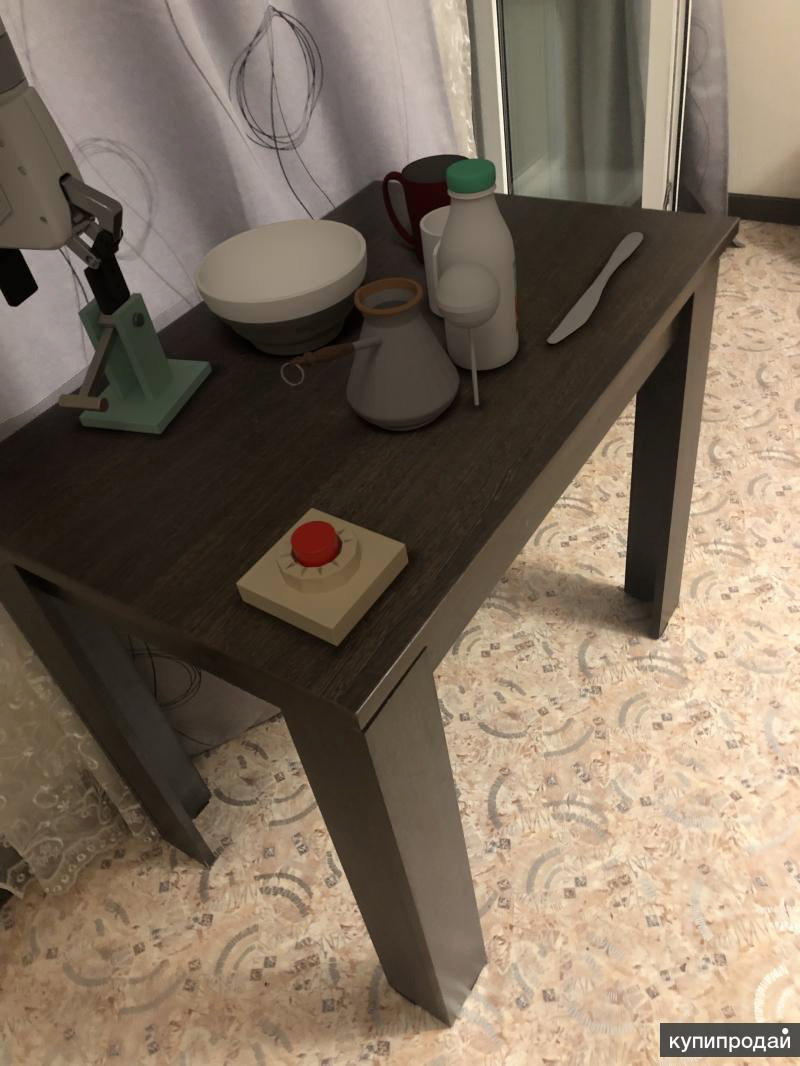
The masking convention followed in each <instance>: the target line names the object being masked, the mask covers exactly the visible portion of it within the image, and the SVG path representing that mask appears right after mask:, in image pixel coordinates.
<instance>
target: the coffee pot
mask: <svg viewBox="0 0 800 1066" xmlns="http://www.w3.org/2000/svg"><path fill="white" fill-rule="evenodd" d="M423 289H424V288H423V287H422V285H421V284H420V283H419V282H418V281H415V280H414V279H411V278H407V277H388V278H381V279H378V280H374V281H371V282H369V283H367V284H365V285H361V287H360V288H358V289H357V290H356V292H355V297H354V306H355V307H356V309H357V310H358V311H359V312H361V314H362V316H363V318H364V320H363V323H362V327H361V329H360V335H359V339H358V340H355V341H353V342H346V343H341V344H340V343H339V344H335V345H328V346H322V347H320V348H319V349H317V350H316V351H313V352H312V351H310V352H306V353H303V354H302V356H296V357H294V358H293V359H292V360H290V361H289V362H287V363H284V364H282V366H281V368H280V376H281V378H282V380H283V381H284V382H285V383H286V384H288V385H290V386H299V385H301V384H302V383H303V382H304V380H305V371H304V369H303V367H304V366H305V367H307V368H312V367H314V366H315V364H318V363H329V362H332V361H335V360H337V359H340V358H342V357H345V356H347V355H350V354H352V353H355V354H354V357H353V362H352V365H351V368H350V373H349V376H348V381H347V383H346V388H345V394H346V400H347V402H348V404H349V405H350V406H351V409H353V411H354V412H355V413H356V414H357V415H358V416H359V417H360V418H362V419H363V420H364V421H365V422H368V423H370V424H372V425H375V426H377V427H378V428H381V429H384V430H387V431H396V432H401V431H405V432H406V431H411V430H416V429H419V428H422V427H424V426H427V425H429V424H430V423H433V422H434V421H435V420H436V419H437V418H438V417H439V416H440V415H441V414H442V413H444V412H445V411H446V410H447V409H448V408H449V407H450V406H451V405H452V403H453V401H454V399H455V398H456V395H457V393H458V391H459V386H460V375H459V373H458V370H457V367H456V365H455V363H454V362H453V361H452V360H451V358H450V357H449V354H448V352H446V350H445V349H444V346H443V345H442V344H441V342H440V341H439V339H438V338H437V336H436V334H435V332H434V331H433V330H432V328H431V327H430V325H429V323H428V322H427V320H426V319H425V318H424V316H423V314H422V313H421V311H420V310H419V305H420V302H421V300H422V299H423V296H424V290H423ZM287 365H289V367H290V368H292V369H293V368H295V369H299V370H300V372H301V376H302V377H301V380H300V381H299V382H298V383H292V382H290V381H288V379H286V377H285V375H284V368H285V367H286V366H287Z"/></svg>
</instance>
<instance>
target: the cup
mask: <svg viewBox="0 0 800 1066" xmlns="http://www.w3.org/2000/svg"><path fill="white" fill-rule="evenodd" d="M449 211H450V206H445V207H442V208H439V209H436V210H434V211H432V212H430V213H428V214H427V215H425V216H424V217H423V218H422V220H421V222H420V229H421V238H422V246H423V255H424V263H425V264H424V270H425V280H426V287H427V296H428V297H427V298H428V305H429V309H430V311H431V312H432V313H433V314H435V315H437V316H438V317H439V318H440V317H441V318H443V316H442V315H441V314H440V312H439V310H438V307H437V304H436V301H435V293H436V288H437V285H438V283H439V280H440V267H439V248H440V242H441V237H442V234H443V231H444V228H445V225H446V222H447V219H448V215H449Z"/></svg>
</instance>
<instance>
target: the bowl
mask: <svg viewBox="0 0 800 1066" xmlns="http://www.w3.org/2000/svg"><path fill="white" fill-rule="evenodd" d="M367 265H368V253H367V243H366V239H365V238H364V236H363V235H362V233H361V232H360V231H358V230H357V229H356V228H355V227H352V226H350V225H348V224H346V223H343V222H338V221H335V220H330V219H329V220H328V219H319V218H318V219H317V218H315V219H314V218H313V219H311V218H310V219H309V218H307V219H306V218H305V219H304V218H303V219H291V220H285V221H284V220H283V221H278V222H273V223H269V224H266V225H265V224H264V225H261V226H257V227H254V228H251V229H248V230H245V231H243V232H241V233H238V234H235V235H233V236H231V237H229V238H227V239H226V240H223V241H222V242H220V243H219V244H217V245H216V246H214V247H213V248H212V249H210V250H209V251H208V252H206V254H205V255H204V256H203V257H202V258H201V259H200V260H199V262H198V264H197V266H196V267H195V270H194V274H193V278H194V279H193V280H194V283H195V285H196V288H197V291H198V293H199V295H200V296H201V298H202V299H203V301H204V304H206V306H207V308H208V309H209V310H210V311H211V312H212V313H213V314H215V315H216V316H217V317H218V318H219V319H220V320H221V321H222V322H223V323H225V324H226V325H228V326H230V327H231V328H232V330H233V331H234V332H235V333H236V334H238V335H240V336H241V337H242V338H244V339H245V340H247V341H250V343H251V344H252V345H253V346H254V347H255V348H256V349H257V350H259V351H261V352H263V353H266V354H268V355H272V356H273V355H274V356H295V355H301V354H302V355H303V354H304V353H306V352H312V351H315V350H319V349H321V348H323V347H325V346H326V345H328V344H329V343H331V342H332V341H334V340H335V338H337V337H338V336H339V335H340V333H341V331H342V330H343V328H344V324H345V322H346V318H347V317H348V316H349V314H350V313H351V311H352V309H353V307H354V306H355V303H354V297H355V292H356V290H357V289H358V288H360V287H362V284H363V281H364V279H365V276H366V273H367Z"/></svg>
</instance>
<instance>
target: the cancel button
mask: <svg viewBox="0 0 800 1066" xmlns="http://www.w3.org/2000/svg"><path fill="white" fill-rule="evenodd" d="M291 545H292V548H293V551H294V554H295V557H296V560H297V561H298V562H299V563H300V564H301V565H303V566H305V567H321V566H323V565H325V564H328V563H330V562H332V561H333V560H334V559H335V558H336V557H337V555H338V553H339V543H338V539H337V535H336V532H335V529H334V527H333V526H332V525H331V524H329V523H327V522H324V521H311V522H308V523H305V524H303V525H301V526H299V527H298V528H297V529H296V530H295V531H294V532H293V534H292V536H291Z"/></svg>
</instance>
